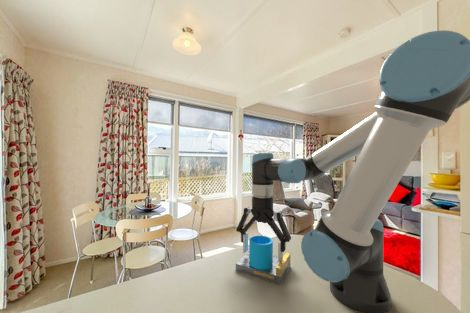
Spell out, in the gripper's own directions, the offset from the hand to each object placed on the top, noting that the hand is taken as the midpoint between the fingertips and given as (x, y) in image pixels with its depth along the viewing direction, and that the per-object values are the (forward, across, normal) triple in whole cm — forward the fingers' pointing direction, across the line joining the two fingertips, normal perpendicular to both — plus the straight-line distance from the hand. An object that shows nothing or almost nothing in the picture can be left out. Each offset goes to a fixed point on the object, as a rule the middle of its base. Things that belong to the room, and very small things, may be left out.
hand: (262, 255), depth 73 cm
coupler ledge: (+4, 0, 0) cm, 4 cm away
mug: (+2, +1, 0) cm, 2 cm away
